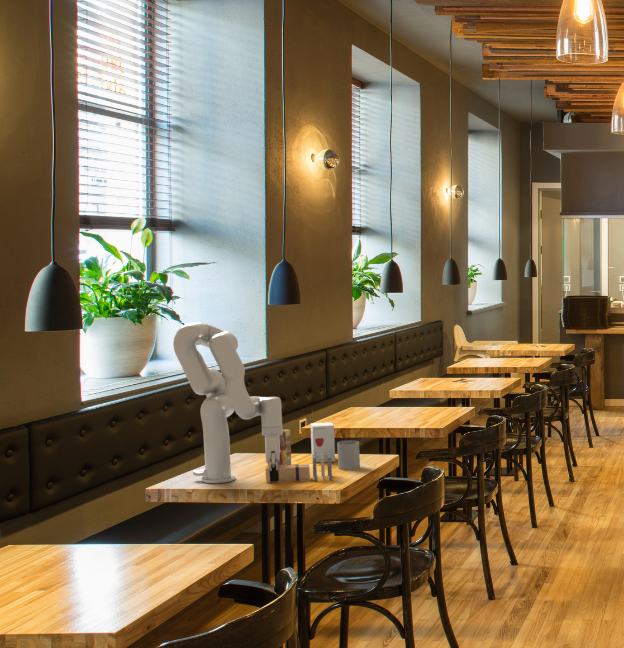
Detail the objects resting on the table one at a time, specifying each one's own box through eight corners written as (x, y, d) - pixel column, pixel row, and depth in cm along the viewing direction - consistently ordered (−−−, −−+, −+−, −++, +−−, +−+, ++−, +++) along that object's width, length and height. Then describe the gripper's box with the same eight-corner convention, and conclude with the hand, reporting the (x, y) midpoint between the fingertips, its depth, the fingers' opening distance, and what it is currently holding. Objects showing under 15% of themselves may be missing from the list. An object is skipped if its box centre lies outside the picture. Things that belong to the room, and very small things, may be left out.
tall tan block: (266, 482, 294) (265, 468, 294) (266, 479, 299) (265, 466, 299) (310, 480, 294) (309, 466, 294) (309, 477, 299) (308, 463, 299)
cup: (351, 471, 308) (350, 444, 307) (334, 469, 313) (333, 443, 312) (364, 466, 314) (362, 441, 314) (346, 465, 319) (345, 439, 319)
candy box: (292, 467, 318) (290, 429, 318) (287, 470, 314) (285, 431, 314) (272, 466, 322) (271, 428, 322) (267, 468, 319) (265, 430, 318)
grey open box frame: (314, 481, 293) (313, 458, 293) (313, 476, 301) (312, 454, 301) (332, 480, 293) (331, 457, 293) (330, 475, 301) (329, 453, 301)
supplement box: (313, 463, 326) (311, 426, 326) (311, 458, 335) (309, 423, 335) (335, 461, 327) (334, 424, 327) (333, 457, 336) (331, 421, 336)
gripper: (262, 427, 304) (264, 475, 305) (261, 435, 287) (263, 485, 288) (282, 426, 305) (284, 474, 305) (282, 434, 287) (284, 484, 288)
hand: (274, 479), depth 296 cm, fingers open, 5 cm apart
